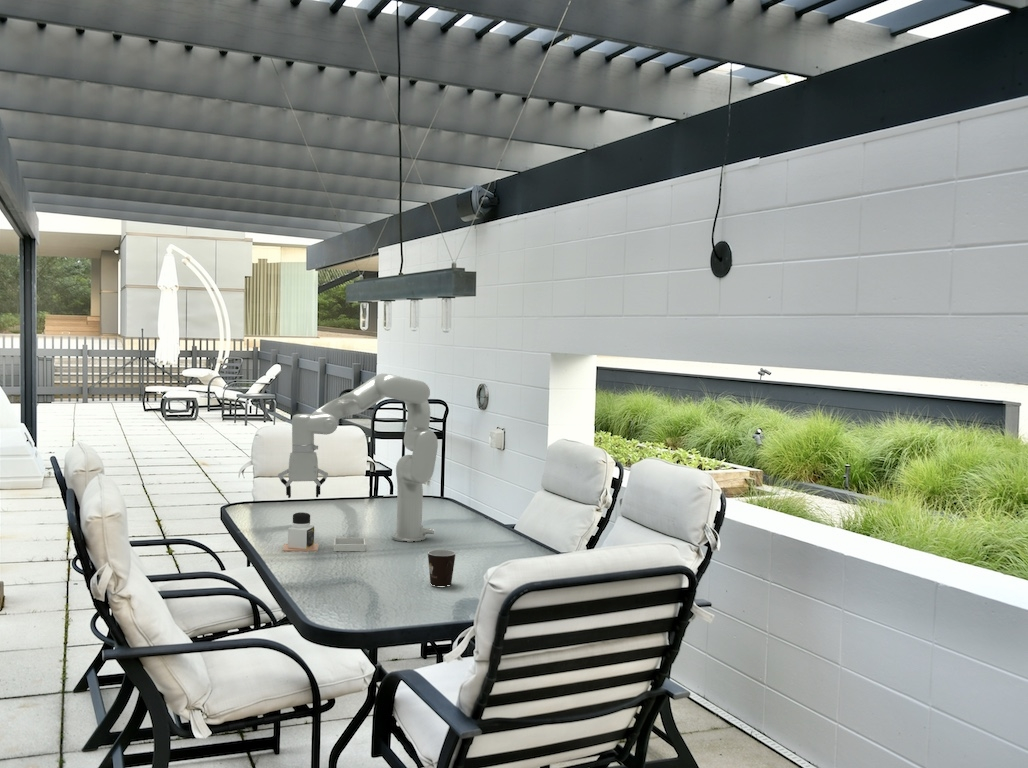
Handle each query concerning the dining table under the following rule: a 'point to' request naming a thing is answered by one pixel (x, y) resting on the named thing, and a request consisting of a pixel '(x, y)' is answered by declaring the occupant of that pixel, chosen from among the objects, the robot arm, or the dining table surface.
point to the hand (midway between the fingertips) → (303, 497)
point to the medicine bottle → (301, 532)
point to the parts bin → (349, 544)
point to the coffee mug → (441, 567)
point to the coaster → (312, 548)
